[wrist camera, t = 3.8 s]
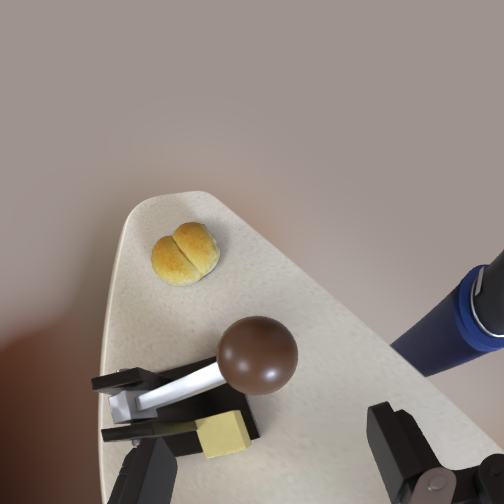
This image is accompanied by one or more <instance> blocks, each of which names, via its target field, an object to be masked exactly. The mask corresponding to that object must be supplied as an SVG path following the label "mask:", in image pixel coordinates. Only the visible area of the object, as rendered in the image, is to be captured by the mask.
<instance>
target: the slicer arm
mask: <svg viewBox="0 0 504 504" xmlns="http://www.w3.org/2000/svg"><path fill="white" fill-rule="evenodd" d="M216 358H217V362H215V363H213V364H211V365H208V366H206V367H204V368H202V369H200V370H198V371H196V372H193V373H191V374H189V375H187V376H184V377H182V378H180V379H178V380H175V381H173V382H171V383H169V384H166V385H164V386H162V387H159V388H157V389H154V390H152V391H151V390H124V391H122V392H120V393H118V394H115V395H113V396H111V397H109V403H110V408H111V413H112V417H113V421H114V424H127V423H140V422H143V421H147V420H151V419H154V418H157V417H158V416H157V412H156V408H159V407H162V406H165V405H168V404H171V403H174V402H177V401H180V400H183V399H185V398H188V397H191V396H194V395H196V394H199V393H202V392H204V391H207V390H209V389H212V388H214V387H217V386H219V385H222V384H224V383H228V384H229V385H230V386H232V387H233V388H234V389H236V390H238V391H240V392H242V393H245V394H250V395H265V394H269V393H272V392H274V391H276V390H278V389H280V388H281V387H283V386H284V385H285V384H286V383H287V382H288V381H289V380H290V378H291V377H292V375H293V374H294V372H295V370H296V366H297V362H298V349H297V344H296V341H295V339H294V337H293V335H292V334H291V332H290V331H289V330H288V329H287V328H286V327H285V326H284V325H283V324H281V323H280V322H278V321H276V320H274V319H272V318H268V317H264V316H251V317H246V318H243V319H240V320H238V321H236V322H235V323H233V324H232V325H231V326H230V327H228V328H227V330H226V331H225V332H224V333H223V335H222V336H221V338H220V340H219V343H218V346H217V353H216Z"/></svg>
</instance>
